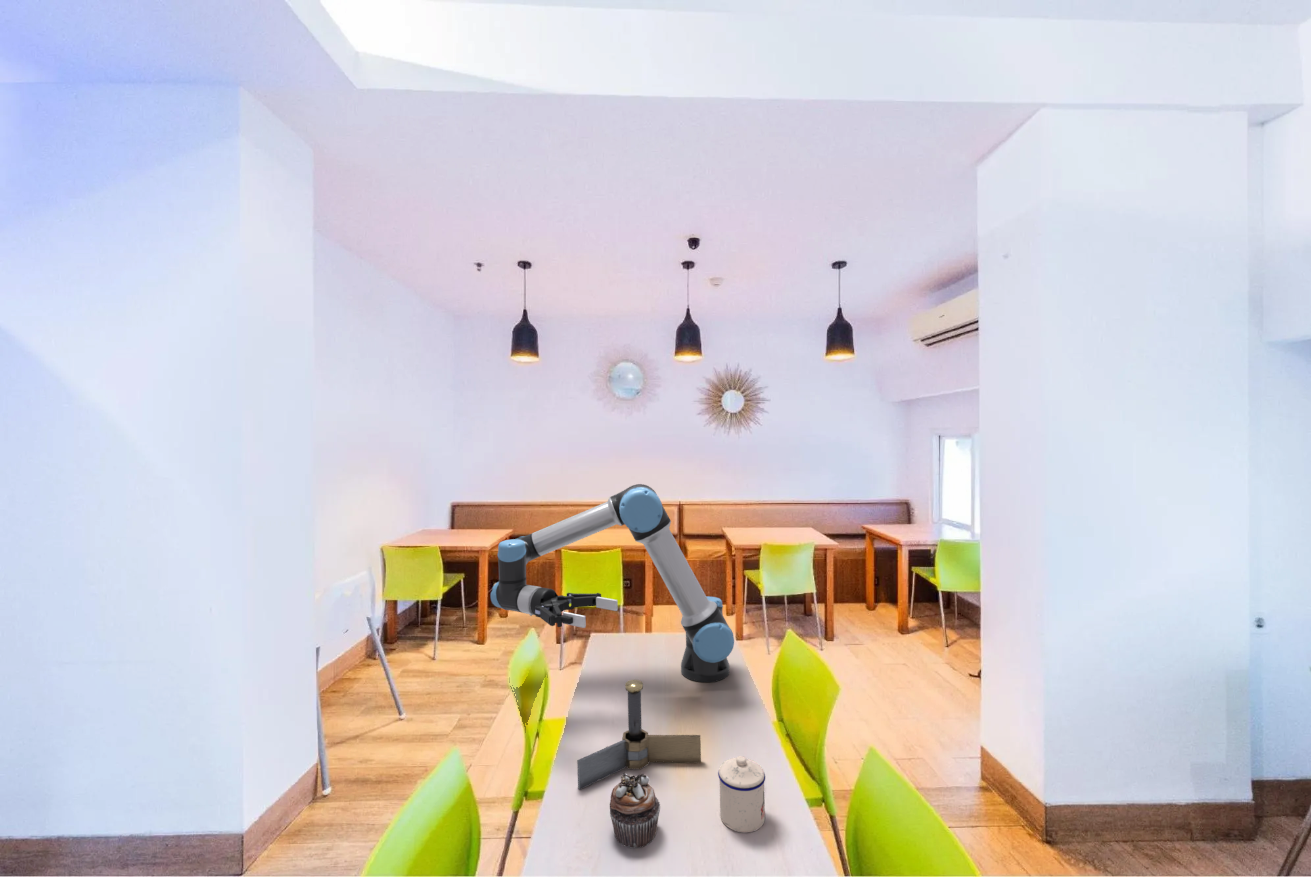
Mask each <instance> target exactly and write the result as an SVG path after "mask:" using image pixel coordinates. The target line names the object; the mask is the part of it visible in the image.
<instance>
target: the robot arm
mask: <svg viewBox="0 0 1311 877" xmlns="http://www.w3.org/2000/svg"><path fill="white" fill-rule="evenodd" d="M671 524H672V521H671V519H670V516H669V515H668V513H667V511H666V509H665V507H664V506H663V503H662V501H661V499H660V497H659V496H658V494H657V493H656V490H655V489H653V488H652V487H651V486H649V485H647V484H642V483H638V484H633V485H630V486H629V487H627V488H626V489H624V490H621V491H620V492H618V493H616V494H614V495H612V496H609V497H608V500H607V501H606V502H603V503H601V504H598V505H596V506H593V507H591V508H589V509H587V510H584V511H581V512H579V513H577V514H575V515H572V516H570V517H567V518H565V519H563V520H560V521H558V522H556V523H554V524H553V523H552V524H551V525H549V526H547V527H544V528H541V529H540V530H537V531H535V532H532V533H530V534H527V535H525V536H524V535H523V536H519V537H517V538H515V539H514V538H513V539H506V540H502V541H500V542H499V543H498V548H497V549H498V550H497V558H498V561H497V563H498V581H497V582H496V583H495V584H494V585H493V586H492V588H491V592H490V601H491V604H492V605H493V606H494V607H497V608H500V609H503V610H505V611H512V612H518V613H522V614H527V615H529V616H531V617H532V616H535V617H537V618H540V619H541V620H542V621H544V622H545V623H546V624H548V625H549V626H550V627H554V626H556V627H558V628H560V627H563V624H564V625H568V626H573V627H578V628H582V629H585V628H586V627H587V622H586V615H581V614H576V613H572V612H567V611H569V610H570V611H571V610H574V609H576V608H587V607H596V608H599V609H603V610H609V611H614V612H617V611H618V610H619V609H618V607H619V606H618V605H619V604H618V602H619V601H618V599H613V598H609V597H608V598H607V597H603V596H602V594H601V593H600V592H596V593H573V592H566V595H565V596H564V595H558V594H557V592H556V591H555V590H554V589H552V588H548V587H543V586H542V587H541V586H536V585H530V584H527V564H528V563H529V562H531V561H533V560H535V559H538V558H540V557H541V556H544V555H547V554H549V553H551V552H554V551H556V550H558V549H561V548H563V547H565V546H569V545H570V544H574V543H575V542H577V541H580V540H583V539H585V538H588V537H589V536H592V535H594V534H597V533H599V532H602V531H604V530H607V529H608V528H611V527H614V526H616V525H618V526H622V527H623V526H625V527H627V528H628V530H629V532H630V534H631V536H632V537H633V539H634V540H635V543H636V542H637V543H640V544H643V546H644V548H645V550H646V552H647V553H648V555H649V557H650V559H651V561H652V563H653V565H654V566H655V567H656V570H657V571H658V573H659V575H660V577H661V579H662V581H663V583H664V584H665V587H666V588H667V589H668V592H669V593H670V595H671V597H672V598H673V599H672V600H673V601H674V602H675V604H676V606H677V607H678V609H679V612H680V613H681V615H682V616H681V617H682V618H681V619H680V624H681V627H682V628H683V630H684V631H685V648H684V652H683V655H682V659H681V662H680V673H681V675H683V677H684V678H687V679H688V680H691V681H693V682H694V681H695V682H701V683H711V682H712V683H713V682H717V681H721V680H723V679H726V678H727V677H728V676H729V675H730V663H729V660H728V657H729V656H730V654H731V653H732V651H733V649H734V645H735V637H734V636H735V635H734V633H733V632H734V631H732V629H731V627H730V626H729V623H728V622H727V620H726V618H725V617H724V615H723V614H724V613H723V608H724V605H723V600H722V599H721V598H720V597H716V596H706V595H707V594H706V593H705V592H704V589H703V588H702V586H701V584H700V582H699V581H698V579H697V577H696V574H694V571H693V570H692V568H691V566H690V565H689V562H688V560H687V558H686V557H685V555H684V553H683V551H682V550H681V547H680V546H679V544H678V543H677V540H676V539H675V538H676V537H674V535H673V533H672V531H671V530H670V528H671ZM563 611H564V612H563Z"/></svg>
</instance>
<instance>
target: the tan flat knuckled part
mask: <svg viewBox="0 0 1311 877" xmlns="http://www.w3.org/2000/svg"><path fill="white" fill-rule="evenodd" d="M624 739H625V741H626V750H628V751H635V752H640V751H642V750H643V749H645V748H647V747H648V756H647V757H645V758H643V759H641V760H639V761H637V760H628V759H626V762H627V767H626V769H630V770H641V769H643V768H645V767H646V766H648V765H649V763H678V764H679V763H681V764H682V763H687V764H688V763H690V764H691V763H696V764H697V763H699V764H700V763H702V751H701V748H702V747H701V734H649V732H648V731H646V730H644V729H642V739H643V740H641V741H639V742H630V741H629V729H628V730H626V731H624V732H623V733H622V739H621V741H622V740H624Z"/></svg>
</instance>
